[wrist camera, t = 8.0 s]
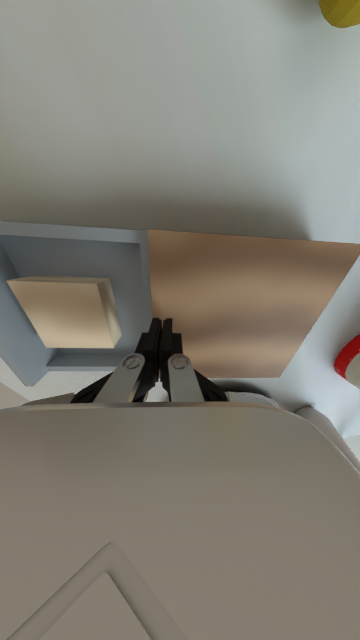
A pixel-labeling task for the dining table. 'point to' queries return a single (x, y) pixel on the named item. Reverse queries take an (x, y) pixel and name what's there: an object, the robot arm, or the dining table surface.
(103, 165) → the dining table surface
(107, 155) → the dining table surface
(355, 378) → the kitchen timer
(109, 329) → the tile
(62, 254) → the box
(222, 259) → the wooden square board
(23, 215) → the dining table surface
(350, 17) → the lemon
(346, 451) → the salt shaker
